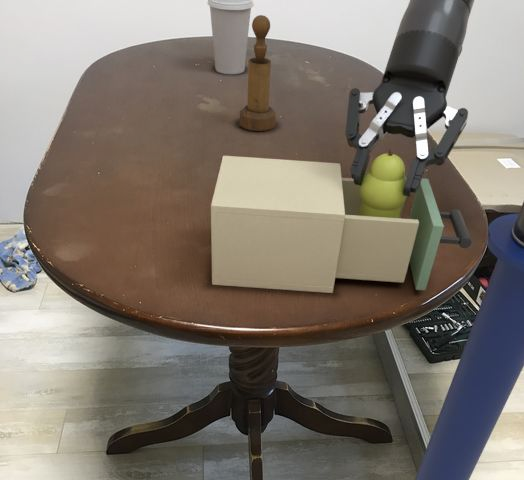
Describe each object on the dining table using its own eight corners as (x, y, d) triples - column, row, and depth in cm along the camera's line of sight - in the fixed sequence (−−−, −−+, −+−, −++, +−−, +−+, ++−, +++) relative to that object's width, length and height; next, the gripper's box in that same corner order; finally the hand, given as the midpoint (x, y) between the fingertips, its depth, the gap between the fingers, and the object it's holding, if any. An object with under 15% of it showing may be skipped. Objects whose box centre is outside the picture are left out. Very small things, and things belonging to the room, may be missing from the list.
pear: (400, 203, 73) (413, 140, 68) (405, 226, 69) (419, 162, 64) (355, 200, 74) (364, 138, 68) (357, 223, 69) (367, 159, 64)
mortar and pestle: (265, 116, 112) (271, 10, 100) (281, 129, 108) (288, 19, 96) (233, 120, 110) (235, 12, 98) (248, 133, 106) (251, 22, 94)
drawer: (445, 241, 80) (464, 181, 74) (462, 293, 72) (484, 229, 66) (313, 232, 80) (320, 171, 74) (313, 282, 72) (322, 217, 66)
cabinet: (329, 237, 81) (340, 163, 74) (332, 293, 72) (345, 214, 65) (223, 230, 82) (223, 155, 74) (212, 284, 72) (210, 205, 65)
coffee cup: (212, 77, 127) (211, -2, 117) (205, 63, 134) (203, -13, 124) (255, 76, 129) (258, -2, 119) (246, 62, 136) (248, -13, 126)
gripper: (363, 18, 66) (317, 162, 66) (494, 37, 62) (445, 191, 62) (368, 56, 73) (326, 186, 73) (486, 76, 69) (442, 213, 69)
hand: (381, 187), depth 67 cm, fingers closed on pear, 5 cm apart
